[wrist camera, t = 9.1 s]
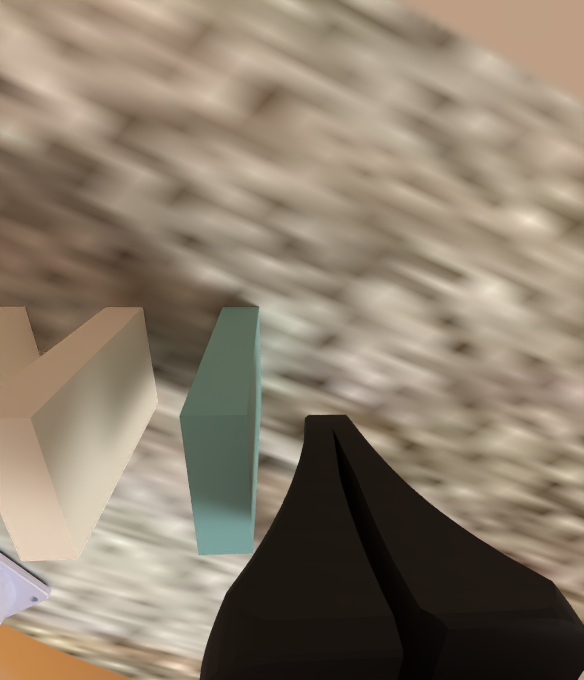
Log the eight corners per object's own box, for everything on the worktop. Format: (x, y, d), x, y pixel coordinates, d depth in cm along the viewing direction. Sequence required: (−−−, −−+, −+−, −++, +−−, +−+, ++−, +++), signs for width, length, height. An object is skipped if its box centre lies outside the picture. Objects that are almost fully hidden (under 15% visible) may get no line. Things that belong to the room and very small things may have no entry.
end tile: (229, 402, 18) (198, 555, 11) (222, 306, 16) (179, 415, 9) (261, 401, 18) (252, 553, 11) (258, 306, 16) (246, 414, 9)
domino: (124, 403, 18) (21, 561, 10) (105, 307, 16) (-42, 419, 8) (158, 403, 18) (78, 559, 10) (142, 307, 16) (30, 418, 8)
